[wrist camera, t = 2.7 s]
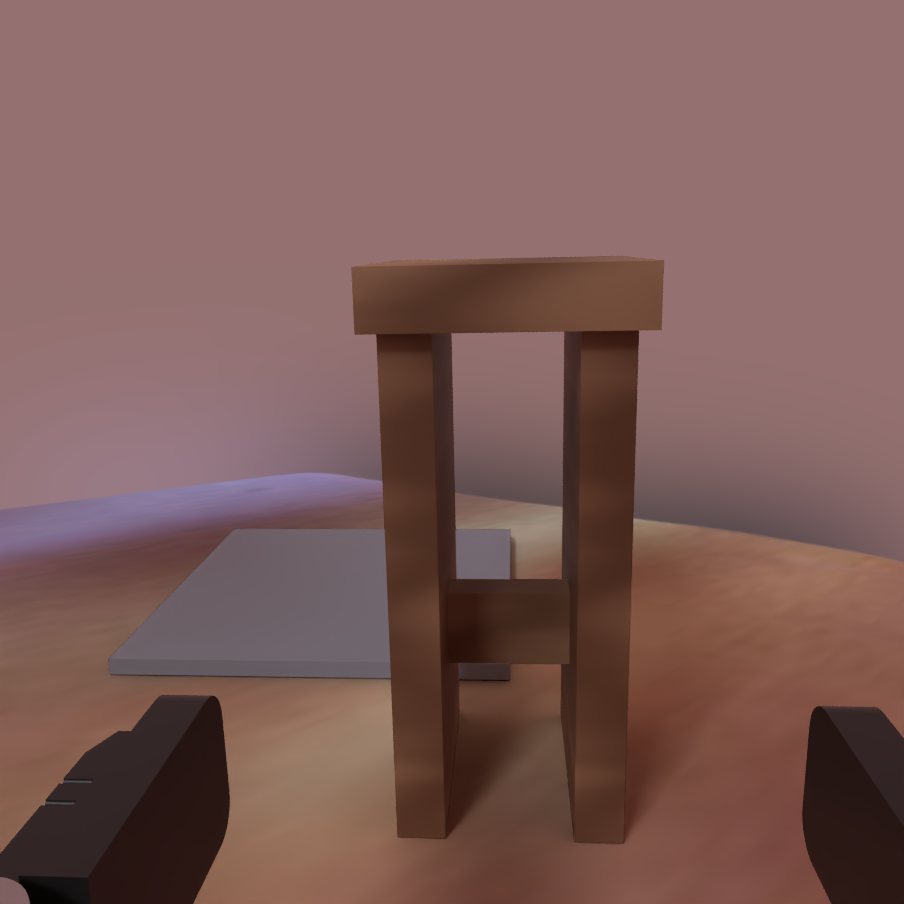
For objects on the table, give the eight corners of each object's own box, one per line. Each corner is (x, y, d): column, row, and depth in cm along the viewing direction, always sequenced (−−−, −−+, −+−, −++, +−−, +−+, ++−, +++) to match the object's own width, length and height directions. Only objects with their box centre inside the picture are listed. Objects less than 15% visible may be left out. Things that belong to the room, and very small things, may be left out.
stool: (379, 847, 21) (351, 267, 18) (410, 703, 28) (394, 260, 24) (642, 854, 21) (663, 260, 17) (610, 706, 27) (621, 255, 24)
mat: (110, 674, 30) (108, 658, 30) (235, 539, 43) (234, 528, 43) (510, 679, 29) (509, 663, 29) (510, 540, 42) (510, 529, 42)
